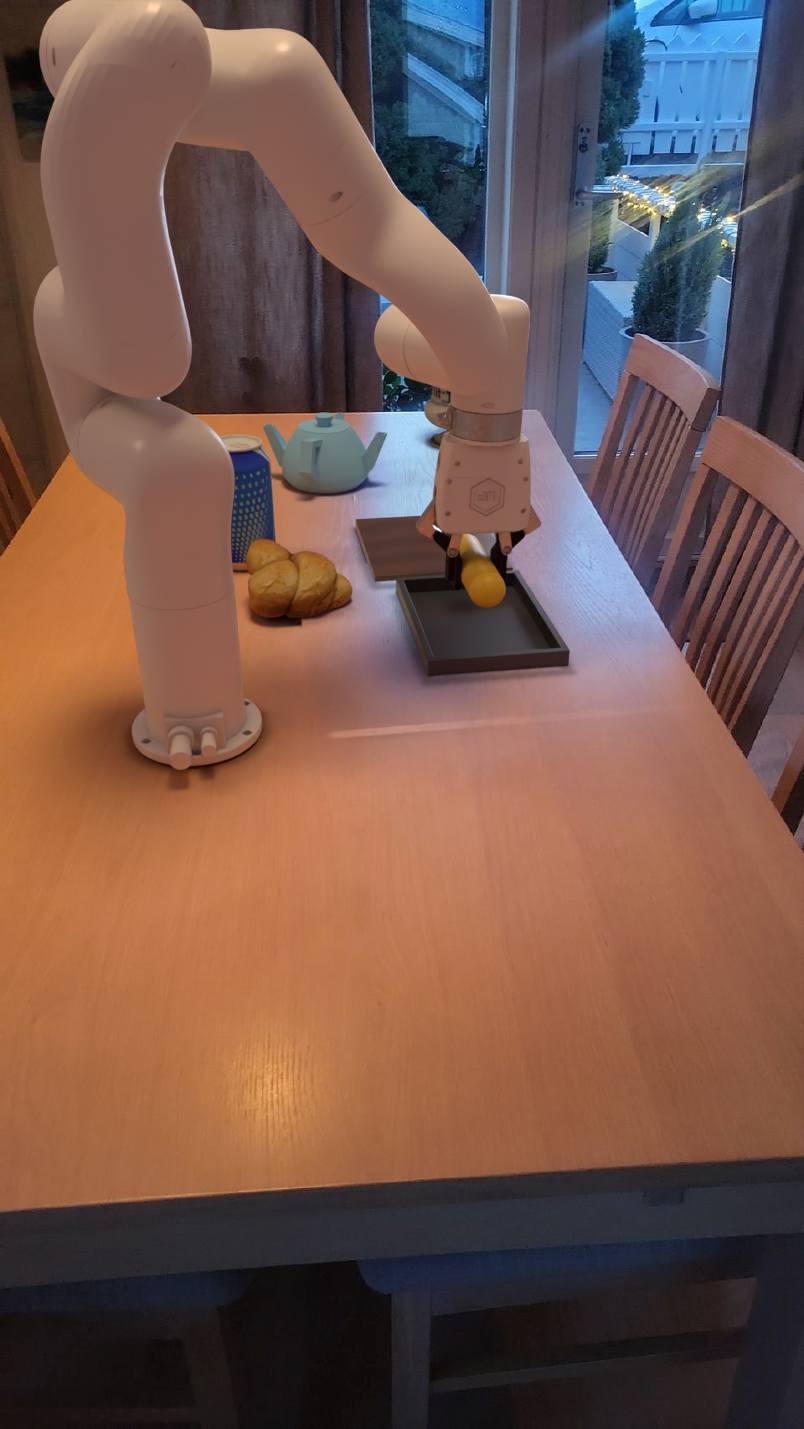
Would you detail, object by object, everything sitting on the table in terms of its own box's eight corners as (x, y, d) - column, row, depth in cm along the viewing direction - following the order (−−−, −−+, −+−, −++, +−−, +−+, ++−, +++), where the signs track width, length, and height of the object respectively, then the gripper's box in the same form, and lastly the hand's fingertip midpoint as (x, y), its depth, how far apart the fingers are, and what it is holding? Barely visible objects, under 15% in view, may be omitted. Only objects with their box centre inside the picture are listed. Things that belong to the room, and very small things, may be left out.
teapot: (261, 475, 167) (257, 409, 161) (343, 460, 173) (341, 396, 168) (305, 504, 156) (301, 433, 150) (389, 487, 162) (389, 418, 157)
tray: (567, 671, 112) (570, 650, 111) (427, 682, 110) (428, 661, 109) (517, 588, 130) (518, 569, 129) (395, 596, 128) (396, 577, 127)
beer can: (217, 576, 133) (205, 454, 125) (210, 551, 140) (198, 434, 131) (281, 569, 135) (274, 449, 126) (271, 545, 142) (263, 430, 133)
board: (512, 578, 133) (513, 567, 132) (374, 587, 130) (374, 576, 130) (477, 522, 150) (478, 512, 149) (355, 528, 147) (355, 519, 146)
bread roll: (355, 593, 129) (353, 533, 125) (349, 628, 121) (347, 565, 116) (252, 591, 129) (248, 531, 125) (240, 626, 121) (234, 563, 117)
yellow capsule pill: (508, 613, 111) (511, 578, 109) (472, 615, 110) (474, 580, 108) (477, 559, 123) (479, 528, 121) (444, 561, 123) (446, 529, 121)
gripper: (412, 435, 103) (407, 602, 112) (573, 431, 105) (555, 595, 115) (400, 415, 109) (396, 574, 118) (552, 412, 112) (536, 568, 121)
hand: (474, 583), depth 116 cm, fingers closed on yellow capsule pill, 4 cm apart
